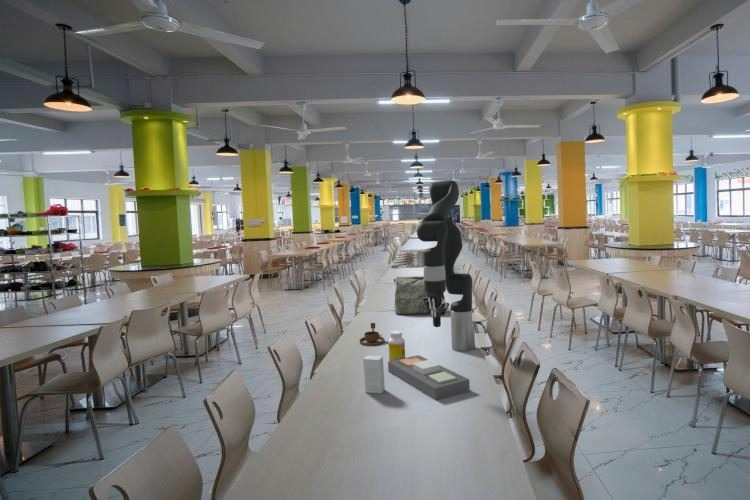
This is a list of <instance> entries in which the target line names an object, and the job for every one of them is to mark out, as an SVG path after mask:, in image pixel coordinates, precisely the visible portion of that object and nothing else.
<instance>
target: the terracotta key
mask: <svg viewBox="0 0 750 500" xmlns="http://www.w3.org/2000/svg"><path fill="white" fill-rule="evenodd" d="M411 357H412V356H411ZM406 358H407V359H402V360H399V363H401V364H403V365H405V366H406V367H412V366H413V365H412V363H416V362H421V361H422V360H420V359H418V358H416V357H412V358H408V357H406Z"/></svg>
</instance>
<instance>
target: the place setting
mask: <svg viewBox="0 0 750 500" xmlns="http://www.w3.org/2000/svg"><path fill="white" fill-rule="evenodd" d="M370 329H371V331H370V330H369V331H367V332H364V336H362V338H360V339H359V340H358V341H359V343H360V345H363V346H379V345H382V346H385V345H387V344H388V340H387V341H386V342H385V338H384V337H383V336H380V332H379V331H375V329H376V323H375V322H371V323H370ZM378 340H380V341H378ZM364 341H366V342H364ZM377 341H378V342H377ZM383 343H384V344H383Z"/></svg>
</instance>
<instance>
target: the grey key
mask: <svg viewBox="0 0 750 500" xmlns="http://www.w3.org/2000/svg"><path fill="white" fill-rule="evenodd" d="M412 365H413V370H414V371H416V372H417V373H419V374H421V375H427V374H431V373H435V372H439V371H440V370H439V365H440V364H438V363H436V362H434V361H432V360H431V359H428V360H425V361H421V362H416V363H412Z"/></svg>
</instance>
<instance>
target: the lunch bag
mask: <svg viewBox="0 0 750 500" xmlns="http://www.w3.org/2000/svg"><path fill="white" fill-rule="evenodd" d="M393 283H394V284H395V290H394V291H395V292H394V312H395V314H397V315H400V316H401V315H426V314H427V315H431V313H429V312H428V310H427V308H426V306H425V303H424V301H423V299H424V298H426V297H427V292H425V290H424V275H423V276H422V275H421V276H419V275H418V276H417V275H416V276H415V275H413V276H396V277H395V278H393ZM430 310H431V309H430Z"/></svg>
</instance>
